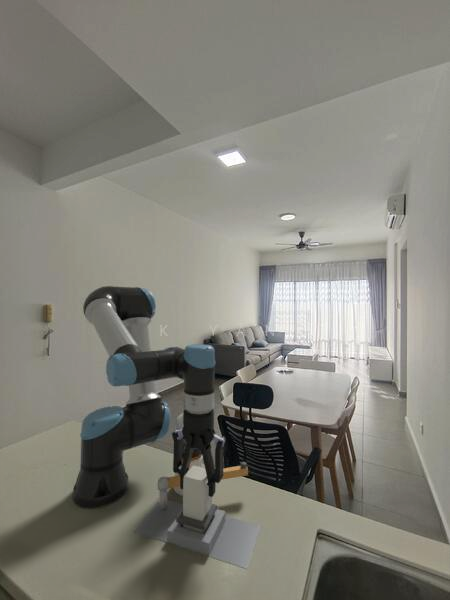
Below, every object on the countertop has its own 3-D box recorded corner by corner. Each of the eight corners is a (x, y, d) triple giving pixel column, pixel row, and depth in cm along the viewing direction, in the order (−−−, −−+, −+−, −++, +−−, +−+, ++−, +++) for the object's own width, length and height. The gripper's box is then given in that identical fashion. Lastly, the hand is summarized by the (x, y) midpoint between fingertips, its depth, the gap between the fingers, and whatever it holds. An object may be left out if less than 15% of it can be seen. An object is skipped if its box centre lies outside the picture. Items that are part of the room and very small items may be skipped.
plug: (175, 534, 67) (176, 478, 67) (190, 512, 74) (191, 462, 74) (204, 543, 64) (205, 485, 64) (216, 520, 71) (217, 467, 71)
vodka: (208, 483, 89) (209, 386, 90) (196, 502, 80) (198, 395, 81) (181, 477, 92) (182, 384, 93) (167, 495, 83) (169, 392, 84)
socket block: (133, 535, 68) (133, 509, 68) (161, 502, 80) (161, 479, 80) (247, 574, 59) (247, 543, 59) (260, 529, 70) (261, 504, 71)
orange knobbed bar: (158, 491, 74) (158, 480, 75) (157, 485, 77) (157, 473, 77) (248, 476, 82) (248, 465, 82) (245, 470, 85) (245, 460, 85)
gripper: (158, 408, 69) (156, 506, 68) (228, 419, 63) (227, 526, 62) (174, 399, 76) (172, 487, 75) (238, 408, 70) (237, 504, 69)
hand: (197, 505), depth 69 cm, fingers closed on plug, 5 cm apart
